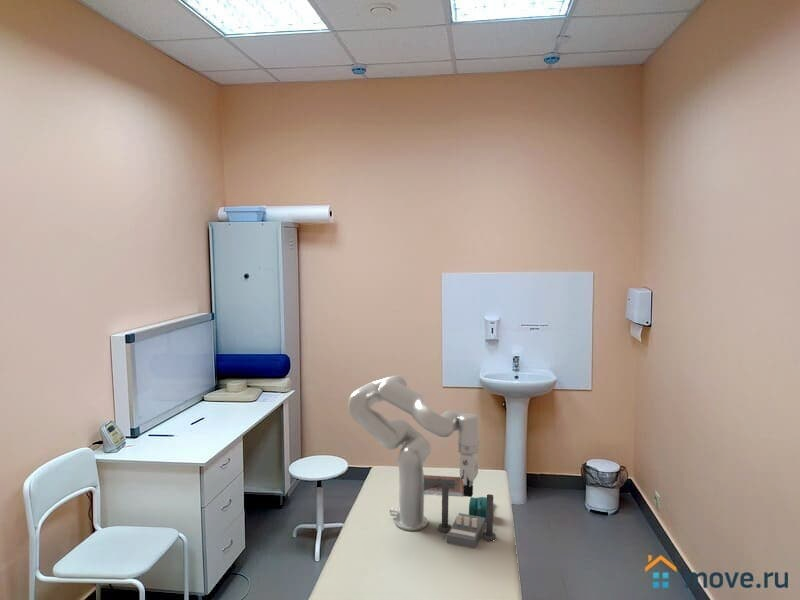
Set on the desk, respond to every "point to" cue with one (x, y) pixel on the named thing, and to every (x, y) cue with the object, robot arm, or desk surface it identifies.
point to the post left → (444, 512)
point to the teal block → (478, 506)
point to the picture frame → (442, 485)
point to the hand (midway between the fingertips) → (468, 495)
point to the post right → (489, 520)
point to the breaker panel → (466, 532)
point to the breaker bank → (466, 521)
